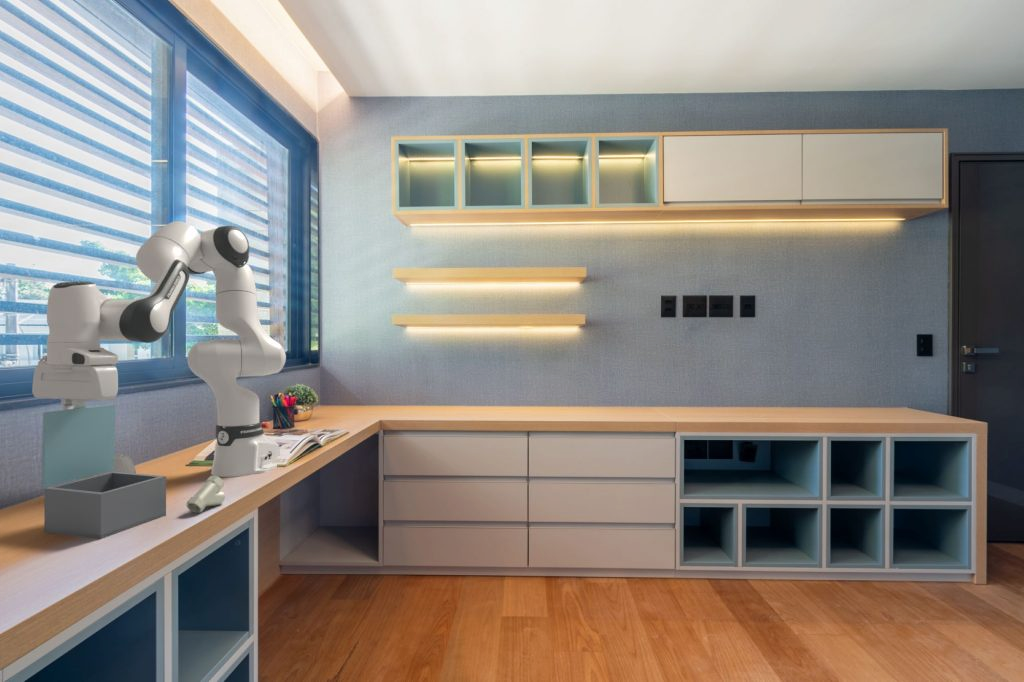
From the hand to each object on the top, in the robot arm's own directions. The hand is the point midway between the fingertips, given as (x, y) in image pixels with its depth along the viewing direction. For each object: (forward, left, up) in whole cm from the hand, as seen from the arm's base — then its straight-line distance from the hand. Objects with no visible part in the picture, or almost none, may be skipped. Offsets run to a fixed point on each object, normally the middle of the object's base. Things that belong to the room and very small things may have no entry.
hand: (74, 420), depth 112 cm
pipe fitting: (-15, +22, -22) cm, 35 cm away
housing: (0, +10, -22) cm, 24 cm away
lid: (0, +2, -12) cm, 12 cm away
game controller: (-18, -15, -22) cm, 32 cm away
